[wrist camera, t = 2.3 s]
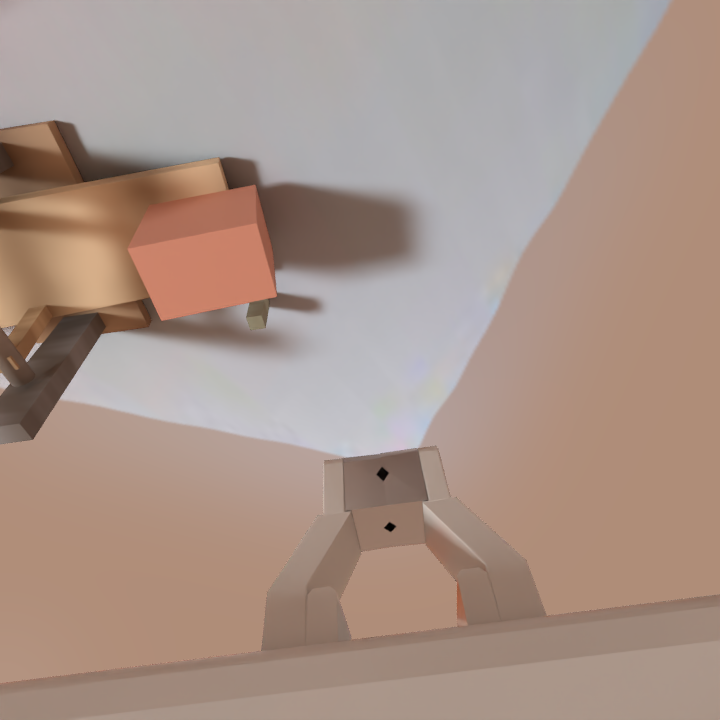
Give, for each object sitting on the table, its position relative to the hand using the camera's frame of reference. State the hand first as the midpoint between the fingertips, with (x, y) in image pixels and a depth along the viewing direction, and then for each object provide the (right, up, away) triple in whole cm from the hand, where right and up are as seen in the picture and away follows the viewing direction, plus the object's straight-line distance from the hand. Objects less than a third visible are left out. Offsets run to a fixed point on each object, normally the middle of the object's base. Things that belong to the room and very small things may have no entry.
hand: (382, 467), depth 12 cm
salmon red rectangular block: (-9, +11, +15) cm, 21 cm away
